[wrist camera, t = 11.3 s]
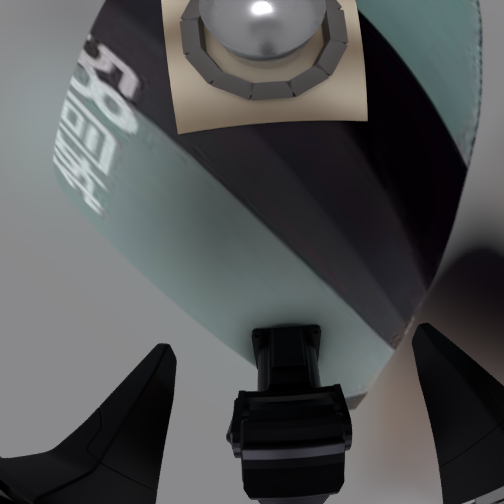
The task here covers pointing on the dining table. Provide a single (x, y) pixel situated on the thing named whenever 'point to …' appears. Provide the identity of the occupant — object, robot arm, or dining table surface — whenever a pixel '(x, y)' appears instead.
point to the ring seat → (264, 74)
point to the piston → (263, 28)
